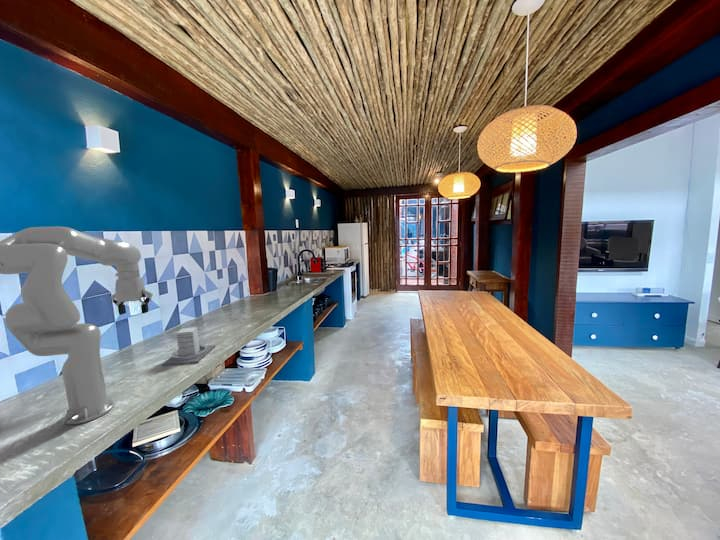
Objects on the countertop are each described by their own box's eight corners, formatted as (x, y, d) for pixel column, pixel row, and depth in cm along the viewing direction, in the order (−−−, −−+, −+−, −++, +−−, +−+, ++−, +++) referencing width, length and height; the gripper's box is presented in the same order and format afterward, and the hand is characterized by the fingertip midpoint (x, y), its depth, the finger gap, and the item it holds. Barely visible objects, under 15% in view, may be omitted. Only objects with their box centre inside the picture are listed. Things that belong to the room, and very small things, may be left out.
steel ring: (199, 359, 137) (199, 356, 137) (165, 361, 135) (165, 358, 135) (212, 346, 152) (212, 343, 152) (182, 348, 151) (182, 346, 150)
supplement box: (184, 352, 146) (181, 328, 144) (200, 350, 148) (197, 326, 146) (179, 358, 139) (175, 333, 137) (195, 355, 141) (192, 331, 139)
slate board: (198, 363, 135) (197, 361, 134) (162, 365, 133) (162, 363, 133) (215, 346, 154) (215, 344, 154) (184, 349, 153) (184, 347, 153)
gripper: (101, 277, 121) (106, 316, 123) (143, 275, 122) (148, 314, 124) (115, 275, 129) (120, 312, 130) (154, 273, 130) (159, 310, 131)
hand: (133, 313), depth 127 cm, fingers open, 9 cm apart
